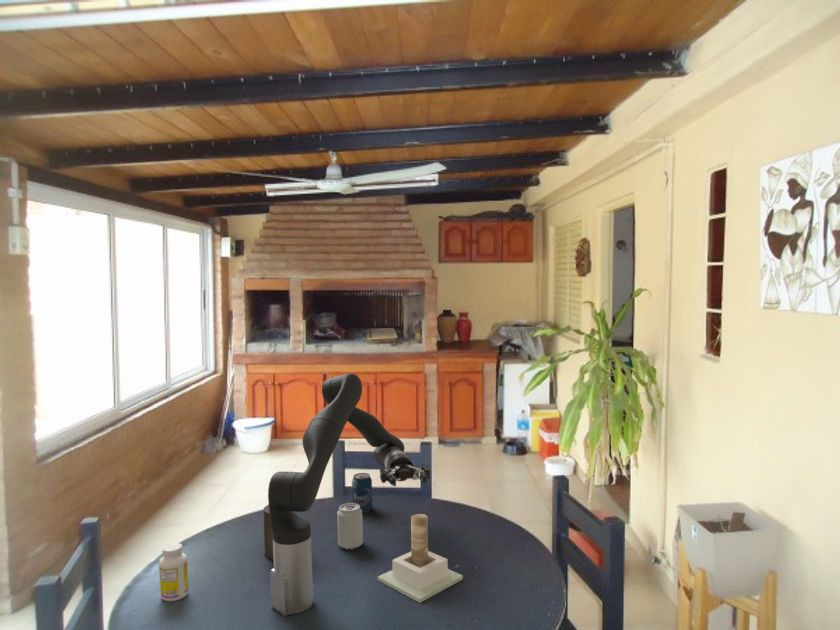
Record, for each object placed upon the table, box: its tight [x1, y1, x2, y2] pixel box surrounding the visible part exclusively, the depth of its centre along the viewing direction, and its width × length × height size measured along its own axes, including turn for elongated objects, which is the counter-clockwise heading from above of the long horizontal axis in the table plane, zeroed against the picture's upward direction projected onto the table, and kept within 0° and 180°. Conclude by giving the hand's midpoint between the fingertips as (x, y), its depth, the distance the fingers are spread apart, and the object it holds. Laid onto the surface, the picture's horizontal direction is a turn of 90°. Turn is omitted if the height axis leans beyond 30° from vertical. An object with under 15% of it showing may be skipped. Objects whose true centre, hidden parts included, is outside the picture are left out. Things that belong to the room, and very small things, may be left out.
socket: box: [377, 550, 464, 604], centre depth 160 cm, size 16×16×6 cm
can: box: [336, 502, 364, 550], centre depth 181 cm, size 8×8×12 cm
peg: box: [410, 513, 429, 568], centre depth 160 cm, size 4×4×16 cm
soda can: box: [351, 472, 373, 513], centre depth 209 cm, size 7×7×12 cm
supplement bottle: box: [158, 542, 190, 602], centre depth 154 cm, size 7×7×13 cm
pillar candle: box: [263, 503, 298, 561], centre depth 177 cm, size 10×10×15 cm
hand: (409, 481), depth 169 cm, fingers open, 8 cm apart
